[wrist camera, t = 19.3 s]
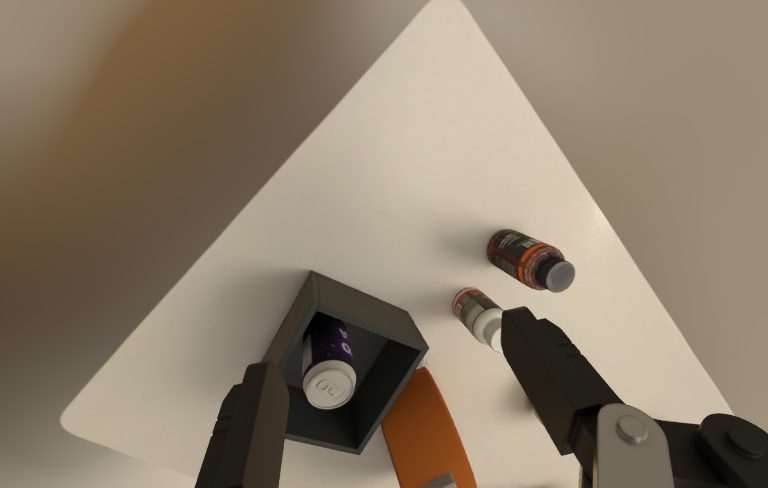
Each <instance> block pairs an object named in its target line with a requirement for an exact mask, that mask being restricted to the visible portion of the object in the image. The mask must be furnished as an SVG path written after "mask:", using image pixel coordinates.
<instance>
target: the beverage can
mask: <svg viewBox="0 0 768 488" xmlns="http://www.w3.org/2000/svg"><path fill="white" fill-rule="evenodd" d="M355 383H356V371H355V366H354V362H353V357H352V353H351V348H350V343H349V339H348V334H347V330H346V325H345V322H344V321H342V320H339V319H337V318H334V317H332V316H329V315H326V314H324V313H321V312H319V313H316V314H314V316H313V317H312V319H311V321H310V323H309V325H308V326H307V328H306V330H305V332H304V333H303V365H302V387H303V390H304V393H305V394H306V396H307V399H308V401H309V402H310V403H311V404H312V405H313V406H315V407H317V408H320V409H334V408H337V407H339V406H341V405H343V404H345V403H346V402H347V401H348V400H349V399H350V398H351V396H352V395H353V392H354V388H355Z"/></svg>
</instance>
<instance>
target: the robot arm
mask: <svg viewBox="0 0 768 488" xmlns="http://www.w3.org/2000/svg"><path fill="white" fill-rule="evenodd" d="M500 342H501V348H502V351H503V354H504V356H505V358H506V360H507V362H508V363H509V365H510V367H511V369H512V370H513V372H514V374H515V376H516V377H517V379H518V381H519V383H520V384H521V386H522V388H523V390H524V391H525V393H526V395H527V397H528V398H529V400H530V402H531V404H532V405H533V407H534V409H535V411H536V412H537V414H538V416H539V418H540V419H541V421H542V423H543V425H544V426H545V428H546V430H547V432H548V433H549V435H550V437H551V439H552V440H553V442H554V444H555V446H556V447H557V449H558V451H559V453H560V454H561V456H563V455H567V454H571V453H574V454H575V456H576V458H577V459H578V461H579V463H580V472H579V488H768V433H766V432H765V431H764V430H762V429H761V428H759V427H758V426H756V425H754V424H752V423H750V422H748V421H746V420H744V419H741V418H739V417H736V416H733V415H728V414H720V413H718V414H711V415H709V416H707V417H705V419H704V420H703V421H702V423H701V424H700V425H698V424H688V423H679V422H670V421H662V420H657V419H653V418H651V417H650V416H648V415H647V414H646V413H644V412H642V411H641V410H639V409H637V408H635V407H632V406H629V405H626V404H625V403H624V402H623V401H622V400H621V399H620V398H619V397H618V396H617V395H616V394H615V393H614V391H613V390H612V389H611V388H610V387H609V385H608V384H607V383H606V382H605V381H604V380H603V378H602V377H601V376H600V375H599V374H598V372H597V371H596V370H595V369H594V368H593V366H592V365H591V364H590V363H589V362H588V360H587V359H586V358H585V357H584V356H583V355H581V353H580V351H579V350H578V349H577V347H576V346H575V345H574V344H572V342H571V340H570V339H569V338H568V337H567V335H566V334H565V333H564V332H563V331H562V329H561V328H559V327H558V326H556V325H555V324H553V323H552V322H550V321H549V320H547V319H546V318H544V319H539V320H537V319H536V318H535V316H534V315H533V314H532V313H531V311H530V310H529V309H528V308H527V307H525V306H523V307H519V308H514V309H509V310H505V311H503V312H502V320H501V337H500ZM288 410H289V392H288V388H287V385H286V384H285V382H284V380H283V378H282V376H281V374H280V372H279V370H278V368H277V366H276V364H275V362H274V361H273V360H269V361H264V362H260V363H255V364H250V365H249V366H248V367H247V369H246V371H245V375H244V378H243V382H242V383H241V384H237V385H234V386H233V387H232V389H231V390H230V391H229V393H228V394H227V396H226V397H225V399H224V400H223V402H222V405H221V408H220V411H219V414H218V417H217V419H218V420H217V422H216V423H215V427H214V430H213V436H211V439H210V442H209V445H208V448H207V451H206V454H205V457H204V460H203V463H202V466H201V469H200V472H199V476H198V479H197V482H196V485H195V488H278V486H279V479H280V471H281V464H282V456H283V448H284V441H285V433H286V425H287V418H288Z"/></svg>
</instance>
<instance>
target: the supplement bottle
mask: <svg viewBox="0 0 768 488" xmlns="http://www.w3.org/2000/svg"><path fill="white" fill-rule="evenodd" d="M488 256H489V259H490V261H491V262H492V264H494V265H495V266H496V267H498V268H499V269H501V270H502V271H504V272H506V273H507V274H509V275H510V276H512V277H513V278H515V279H517V280H518V281H520V282H522V283H523V284H525V285H526V286H528V287H530V288H532V289H535V290H545V289H548V290H550V291H551V292H555V293H556V292H562V291H564V290H565V289H567V288H568V287H569V286H570V285H571V283H572V282H573V280H574V277H575V269H574V266H573V265H572V264H571V263H570V262H568V261H565V259H564V256H563V254H562V253H561V252H560V250H558V249H557V248H555V247H553V246H551V245H548V244H546V243H543V242H541V241H539V240H536V239H534V238H531V237H529V236H527V235H524V234H522V233H519V232H516V231H514V230H505V231H502V232H500V233H498V234H497V235H496V236H495V237H494V238H493V239H492V240H491V242H490V245H489V248H488Z"/></svg>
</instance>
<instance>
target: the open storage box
mask: <svg viewBox="0 0 768 488" xmlns="http://www.w3.org/2000/svg"><path fill="white" fill-rule="evenodd" d="M319 312H321V313H324V314H326V315H329V316H332V317H334V318H337V319H339V320H342V321H344V322H345V325H346V330H347V334H348V339H349V343H350V348H351V353H352V357H353V362H354V366H355V371H356V383H355V388H354V392H353V395H352V396H351V398H350V399H349V400H348V401H347V402H346V403H345V404H343V405H341V406H339V407H337V408H334V409H320V408H317V407H315V406H313V405H312V404H311V403H310V402H309V401H308V399H307V396H306V394H305V393H304V390H303V387H302V365H303V333H304V332H305V330H306V328H307V326H308V325H309V323H310V321H311V319H312V317H313V316H314V314H316V313H319ZM428 349H429V346H428V345H427V343H426V341H425V340H424V338H423V336H422V335H421V333H420V331H419V330H418V328H417V326H416V325H415V323H414V321H413V320H412V318H411V316H410V315H409V313H408V312H407V311H405V310H402V309H400V308H398V307H396V306H393V305H391V304H389V303H386V302H384V301H382V300H379V299H377V298H375V297H372V296H370V295H368V294H365V293H363V292H361V291H358V290H356V289H354V288H352V287H349V286H347V285H345V284H342V283H340V282H338V281H335V280H333V279H331V278H328V277H326V276H324V275H321V274H319V273H317V272H314V271H312V270H311V272H310V274H309V276H308V278H307V279H306V281H305V283H304V285H303V287H302V288H301V290H300V292H299V294H298V296H297V298H296V299H295V301H294V303H293V305H292V307H291V308H290V310H289V312H288V314H287V316H286V317H285V319H284V321H283V323H282V325H281V327H280V328H279V330H278V332H277V334H276V336H275V337H274V339H273V341H272V343H271V345H270V347H269V348H268V350H267V352H266V354H265V356H264V357H263V359H262V361H261V362H264V361H269V360H273V361H274V362H275V364H276V366H277V368H278V370H279V372H280V374H281V376H282V378H283V380H284V382H285V384H286V385H287V388H288V392H289V410H288V418H287V425H286V433H285V439H288V440H292V441H297V442H302V443H306V444H311V445H315V446H320V447H324V448H329V449H333V450H338V451H342V452H347V453H352V454H357V455H360V454H361V452H362V451H363V449H364V448H365V446H366V445H367V443H368V441H369V440H370V438H371V437H372V435H373V434H374V432H375V431H376V429H377V428H378V426H379V425H380V423H381V421H382V420H383V418H384V417H385V415H386V414H387V412H388V411H389V409H390V408H391V406H392V405H393V403H394V401H395V400H396V398H397V397H398V395H399V394H400V392H401V391H402V389H403V388H404V386H405V385H406V383H407V382H408V380H409V378H410V377H411V375H412V374H413V372H414V371H415V369H416V368H417V366H418V365H419V363H420V362H421V360H422V358H423V357H424V355H425V354H426V352H427V351H428Z"/></svg>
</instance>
